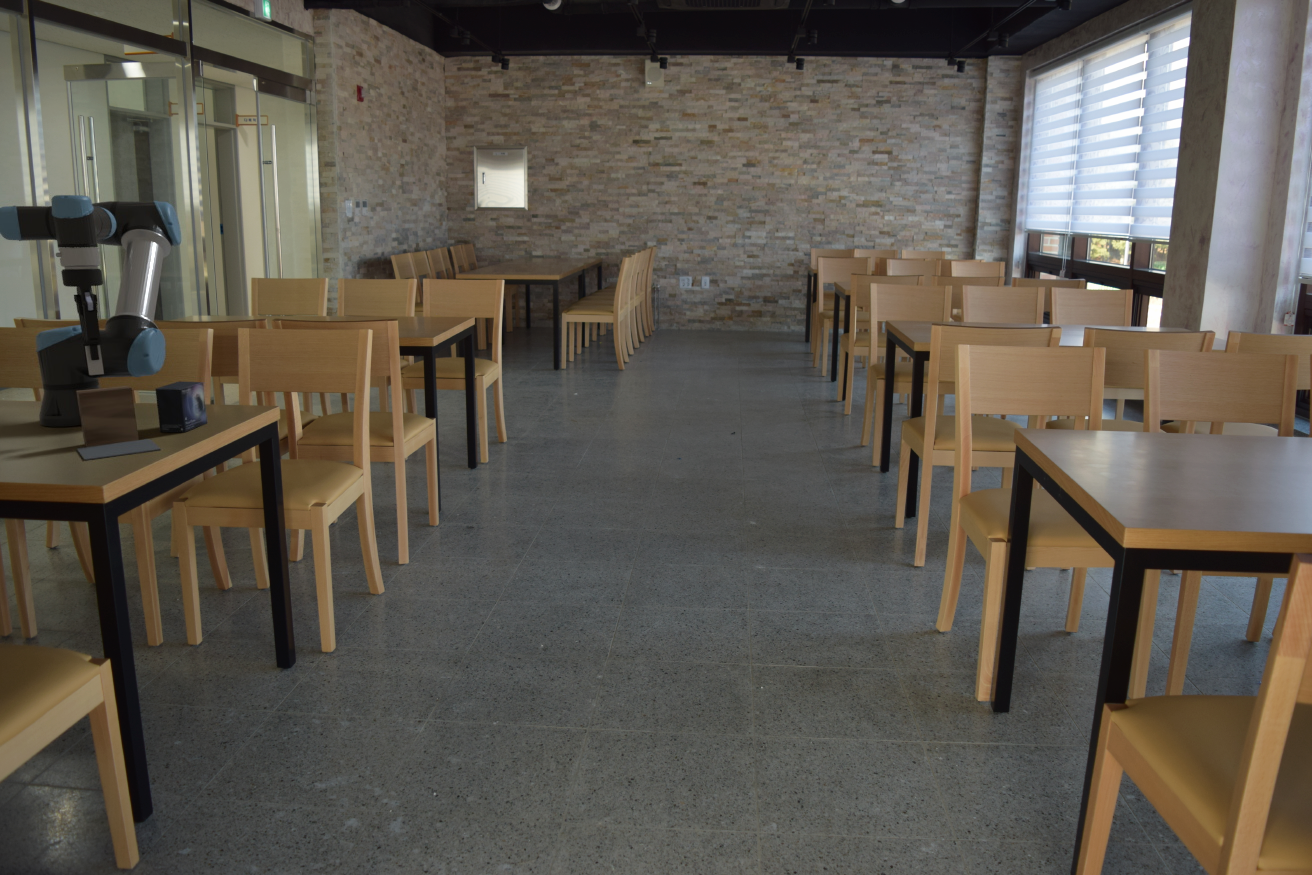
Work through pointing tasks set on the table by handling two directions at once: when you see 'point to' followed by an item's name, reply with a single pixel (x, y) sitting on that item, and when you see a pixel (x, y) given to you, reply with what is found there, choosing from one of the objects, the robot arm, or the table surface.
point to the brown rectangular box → (107, 415)
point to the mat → (117, 449)
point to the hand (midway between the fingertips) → (96, 374)
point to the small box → (181, 406)
